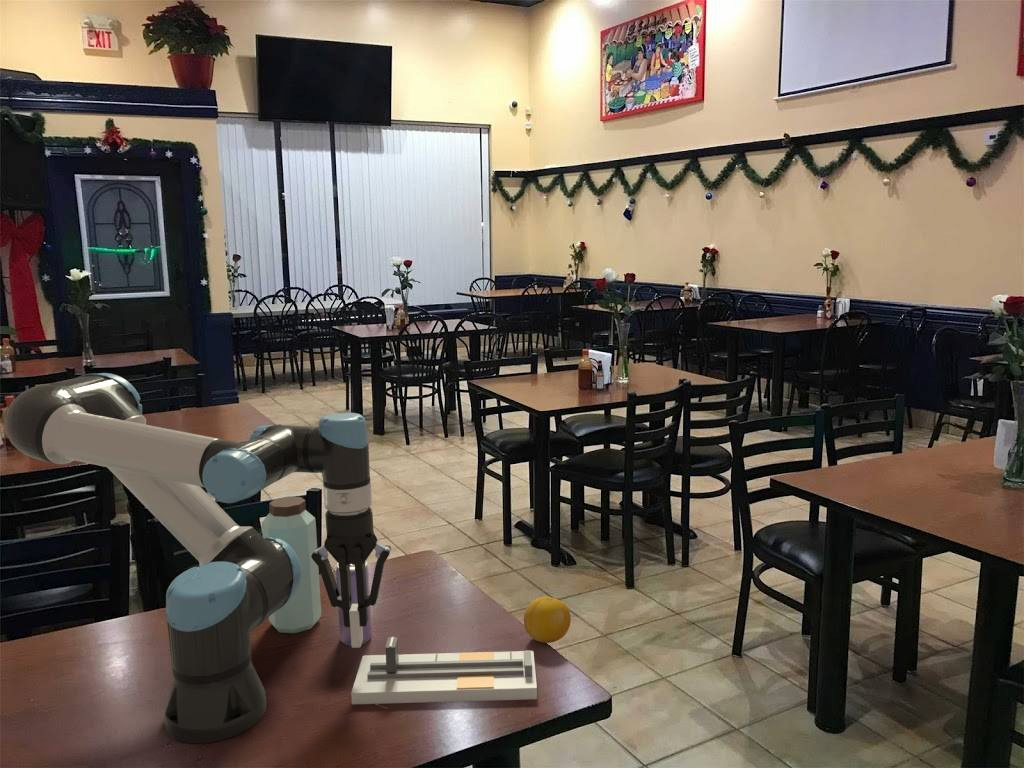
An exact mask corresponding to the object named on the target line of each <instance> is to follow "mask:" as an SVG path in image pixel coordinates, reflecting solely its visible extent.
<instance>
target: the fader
mask: <svg viewBox="0 0 1024 768" xmlns="http://www.w3.org/2000/svg"><path fill="white" fill-rule="evenodd" d="M385 655H386V670H387V672H396V671H397V666H398V662H399V656H398V655H399V639H398V636H388V637H387V640H386V643H385Z"/></svg>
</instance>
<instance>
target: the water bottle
mask: <svg viewBox="0 0 1024 768" xmlns="http://www.w3.org/2000/svg"><path fill="white" fill-rule="evenodd" d="M268 507H269V509H268V511H269V513H268V514H267V515H266V516H265V518H264V519H263V521H261V532H262V534H261V536H262V537H263V538H266V537H272V538H279V539H281V540H283V541H285V542H286V543H287V544H289V545H290V546H291V547H292V549H293V550H294V551H295V553H296V555H297V557H298V559H299V562H300V566H301V571H300V573H301V580H300V584H299V587H298V589H297V591H296V592H295V594H294V595H293V596H292V597H291V598H290V599H289V600H288V602H287V603H286V604H285V605H284V606H283V607H282V608H280V609H279V610H276V611H275V612H274V613H273V614H272V615H270V616H269V617H268V621H269V623H270V624H271V625H272V626H273V628H275V629H276V630H277V632H278V633H285V634H297V633H301V632H304V631H307V630H311V629H312V628H314V626H315V625H316V623H317V622H318V621H319V619H320V618H321V616H322V603H321V587H320V574H319V573H320V570H319V567H318V565H317V564H316V563H315V562H314V560H313V559H312V557H311V556H312V554H313V552H314V550H315V549H316V548H318V541H317V540H318V537H317V524H316V523H317V522H316V517H315V516H314V515H312V514H311V513H310V512H309V511H307V509H306V499H304V498H303V497H301V496H284V497H279V498H274V499H273V500H272V501H270V502H269V505H268Z"/></svg>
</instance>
